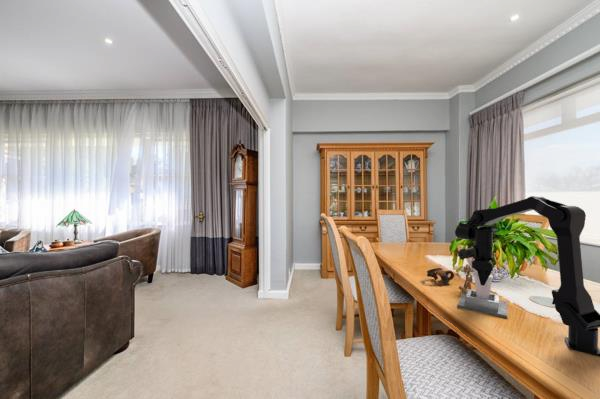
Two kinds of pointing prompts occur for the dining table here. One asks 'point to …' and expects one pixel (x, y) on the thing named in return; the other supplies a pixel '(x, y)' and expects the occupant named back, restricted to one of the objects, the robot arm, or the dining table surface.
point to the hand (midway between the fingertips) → (482, 283)
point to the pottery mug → (441, 275)
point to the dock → (483, 304)
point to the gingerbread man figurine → (467, 279)
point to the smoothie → (482, 287)
